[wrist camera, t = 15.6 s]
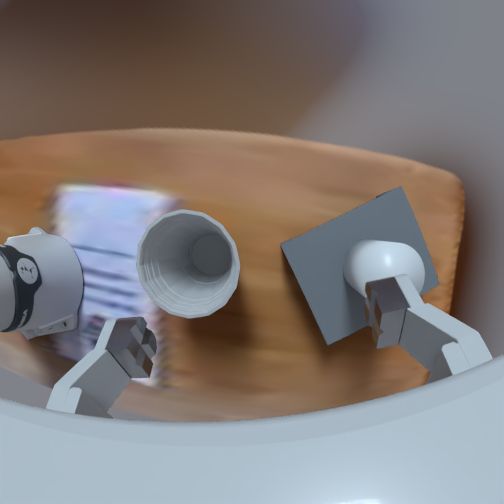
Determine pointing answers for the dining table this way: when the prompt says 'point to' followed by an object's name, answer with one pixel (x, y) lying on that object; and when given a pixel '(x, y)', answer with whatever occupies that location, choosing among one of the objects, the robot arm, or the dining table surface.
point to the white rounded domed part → (381, 263)
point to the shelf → (333, 252)
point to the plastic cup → (188, 263)
